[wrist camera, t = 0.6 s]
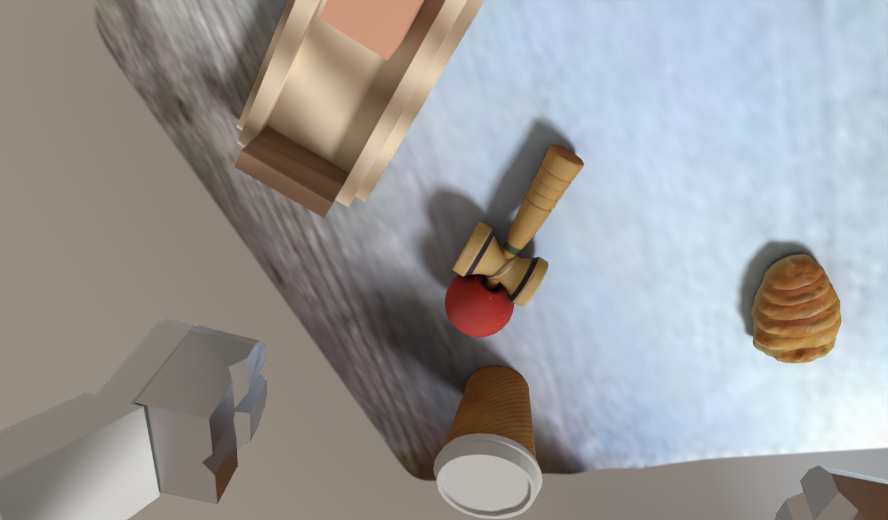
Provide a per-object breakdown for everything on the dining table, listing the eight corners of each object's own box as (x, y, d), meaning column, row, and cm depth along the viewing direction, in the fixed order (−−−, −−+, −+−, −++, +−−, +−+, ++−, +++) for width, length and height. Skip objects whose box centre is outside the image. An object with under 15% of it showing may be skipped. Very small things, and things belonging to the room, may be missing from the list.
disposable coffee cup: (452, 417, 67) (433, 515, 57) (450, 349, 62) (428, 445, 52) (542, 425, 66) (539, 528, 56) (547, 357, 61) (544, 457, 51)
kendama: (512, 118, 50) (422, 295, 58) (527, 146, 44) (424, 337, 52) (595, 155, 52) (497, 321, 60) (619, 186, 46) (507, 364, 54)
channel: (340, -121, 41) (309, -117, 36) (494, -17, 43) (485, 1, 38) (241, 122, 52) (208, 151, 47) (368, 196, 54) (348, 232, 49)
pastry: (743, 257, 52) (755, 284, 49) (834, 242, 50) (853, 269, 47) (750, 343, 56) (762, 373, 53) (834, 332, 54) (852, 362, 51)
